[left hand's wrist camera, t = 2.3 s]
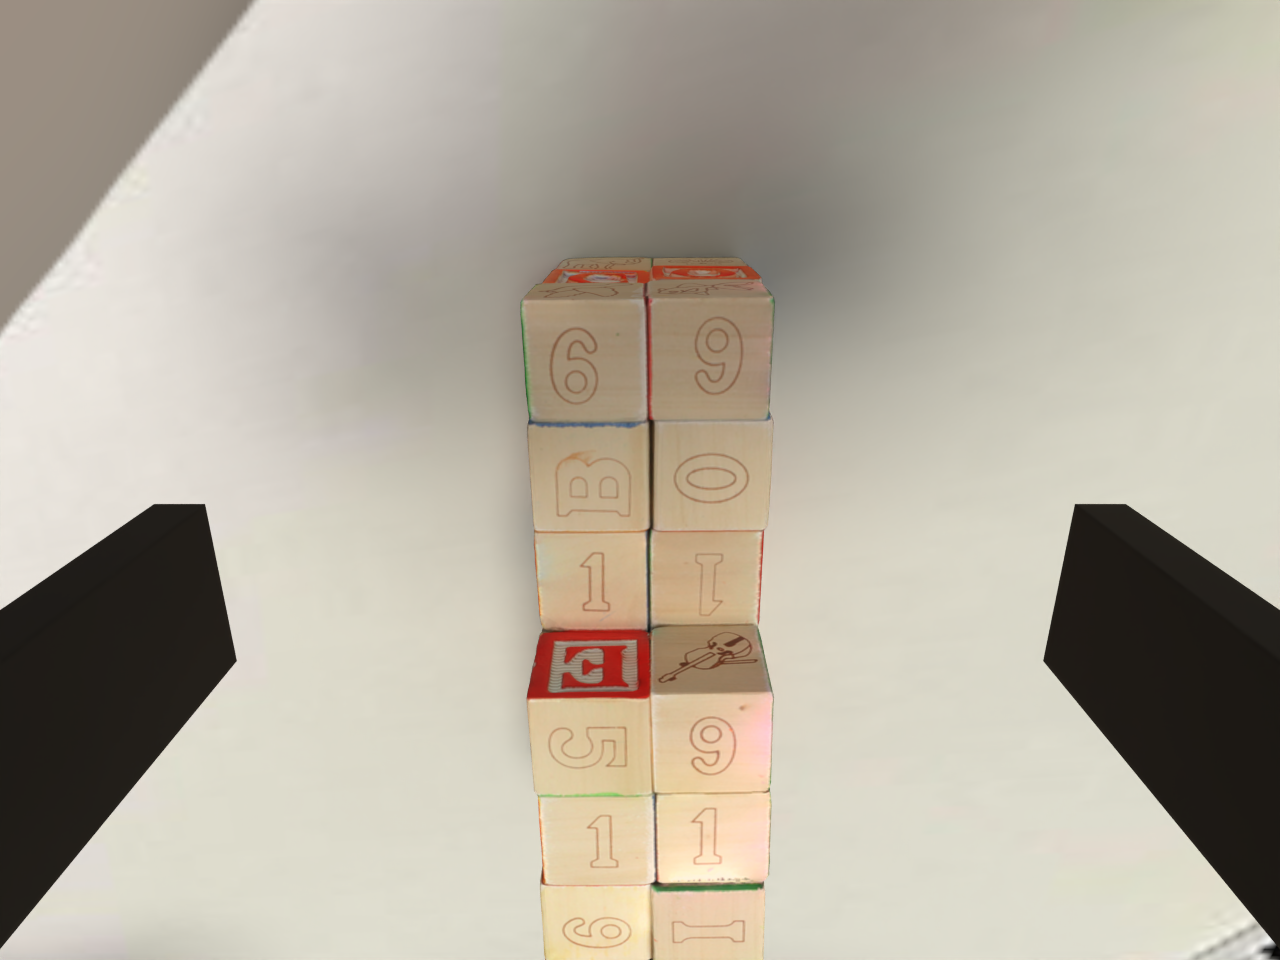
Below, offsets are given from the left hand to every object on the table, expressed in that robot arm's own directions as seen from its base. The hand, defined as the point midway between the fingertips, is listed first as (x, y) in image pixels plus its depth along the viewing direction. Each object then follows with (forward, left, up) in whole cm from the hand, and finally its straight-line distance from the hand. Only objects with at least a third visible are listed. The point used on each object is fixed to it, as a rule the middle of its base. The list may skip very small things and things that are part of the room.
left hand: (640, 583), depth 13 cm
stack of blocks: (+5, +5, -18) cm, 19 cm away
